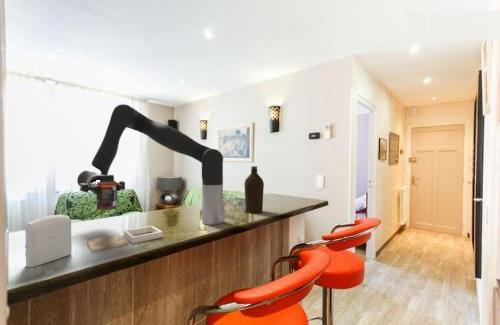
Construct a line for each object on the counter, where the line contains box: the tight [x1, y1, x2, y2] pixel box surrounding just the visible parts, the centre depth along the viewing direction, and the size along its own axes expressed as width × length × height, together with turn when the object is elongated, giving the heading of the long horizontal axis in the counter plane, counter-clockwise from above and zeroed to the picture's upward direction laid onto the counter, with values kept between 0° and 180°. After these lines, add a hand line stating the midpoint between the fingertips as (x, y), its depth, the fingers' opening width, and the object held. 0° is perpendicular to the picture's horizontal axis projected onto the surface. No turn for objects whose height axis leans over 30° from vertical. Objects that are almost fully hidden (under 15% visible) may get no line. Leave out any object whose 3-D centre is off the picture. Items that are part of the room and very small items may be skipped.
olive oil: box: [244, 165, 265, 214], centre depth 133 cm, size 11×11×25 cm
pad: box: [86, 234, 129, 252], centre depth 81 cm, size 10×11×1 cm
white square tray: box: [123, 225, 164, 244], centre depth 89 cm, size 10×10×2 cm
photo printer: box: [24, 214, 72, 268], centre depth 67 cm, size 10×4×12 cm, turn 156°
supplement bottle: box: [96, 174, 118, 211], centre depth 81 cm, size 6×6×11 cm
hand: (108, 188), depth 79 cm, fingers closed on supplement bottle, 6 cm apart
